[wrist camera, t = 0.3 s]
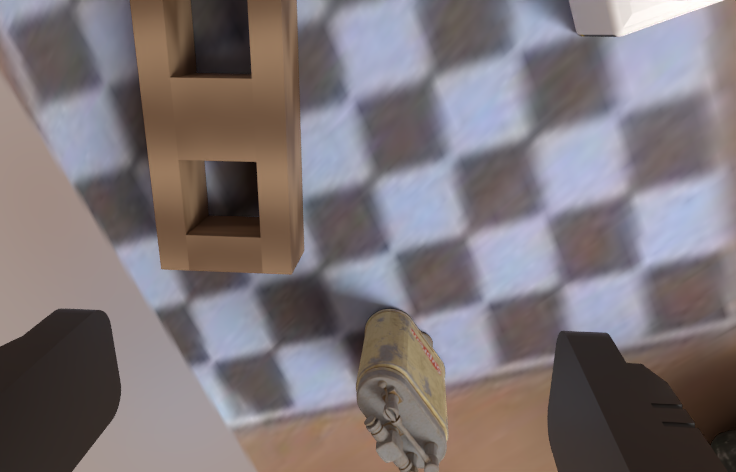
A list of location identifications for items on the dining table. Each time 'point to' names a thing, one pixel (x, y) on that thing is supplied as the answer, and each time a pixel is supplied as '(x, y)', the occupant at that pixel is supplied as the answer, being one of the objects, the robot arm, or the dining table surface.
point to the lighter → (403, 392)
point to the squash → (726, 449)
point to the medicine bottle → (627, 14)
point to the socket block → (222, 138)
